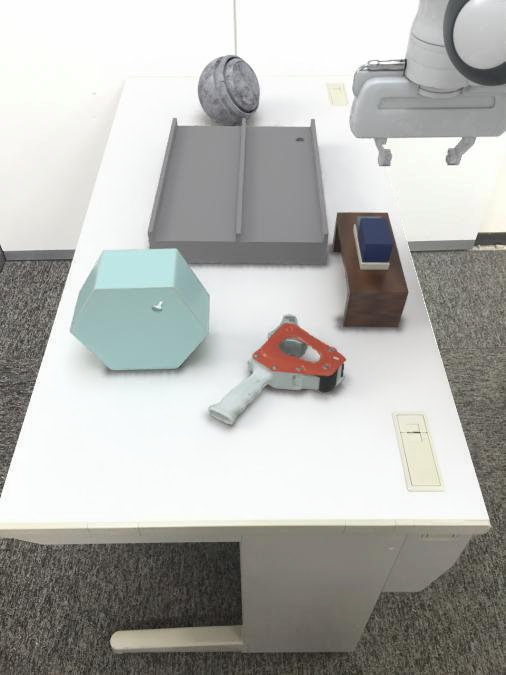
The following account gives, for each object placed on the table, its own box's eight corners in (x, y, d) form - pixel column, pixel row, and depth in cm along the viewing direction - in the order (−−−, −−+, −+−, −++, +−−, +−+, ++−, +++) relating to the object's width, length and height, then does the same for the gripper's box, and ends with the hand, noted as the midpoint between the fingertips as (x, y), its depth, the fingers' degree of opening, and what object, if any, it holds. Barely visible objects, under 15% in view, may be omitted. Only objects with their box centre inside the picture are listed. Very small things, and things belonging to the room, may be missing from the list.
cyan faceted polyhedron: (165, 349, 90) (229, 271, 77) (161, 386, 85) (229, 310, 72) (66, 314, 83) (118, 221, 70) (56, 353, 77) (111, 261, 65)
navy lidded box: (388, 269, 84) (394, 245, 81) (360, 269, 84) (365, 245, 81) (378, 229, 91) (384, 205, 87) (353, 229, 91) (357, 205, 87)
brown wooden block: (379, 247, 100) (387, 212, 94) (398, 327, 87) (409, 292, 81) (331, 247, 100) (337, 212, 94) (343, 326, 87) (350, 292, 81)
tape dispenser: (210, 433, 76) (351, 427, 75) (205, 414, 72) (354, 409, 71) (214, 335, 87) (337, 329, 86) (210, 314, 83) (339, 308, 82)
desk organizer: (152, 262, 97) (147, 232, 92) (176, 146, 123) (172, 117, 118) (324, 264, 97) (329, 234, 92) (312, 147, 123) (315, 118, 118)
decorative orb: (243, 142, 124) (242, 76, 113) (189, 128, 128) (183, 64, 117) (268, 113, 133) (270, 50, 122) (217, 102, 137) (214, 39, 126)
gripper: (359, 71, 61) (345, 177, 72) (537, 69, 61) (497, 175, 72) (352, 49, 66) (340, 152, 76) (519, 47, 65) (483, 150, 76)
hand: (417, 163), depth 74 cm, fingers open, 8 cm apart
